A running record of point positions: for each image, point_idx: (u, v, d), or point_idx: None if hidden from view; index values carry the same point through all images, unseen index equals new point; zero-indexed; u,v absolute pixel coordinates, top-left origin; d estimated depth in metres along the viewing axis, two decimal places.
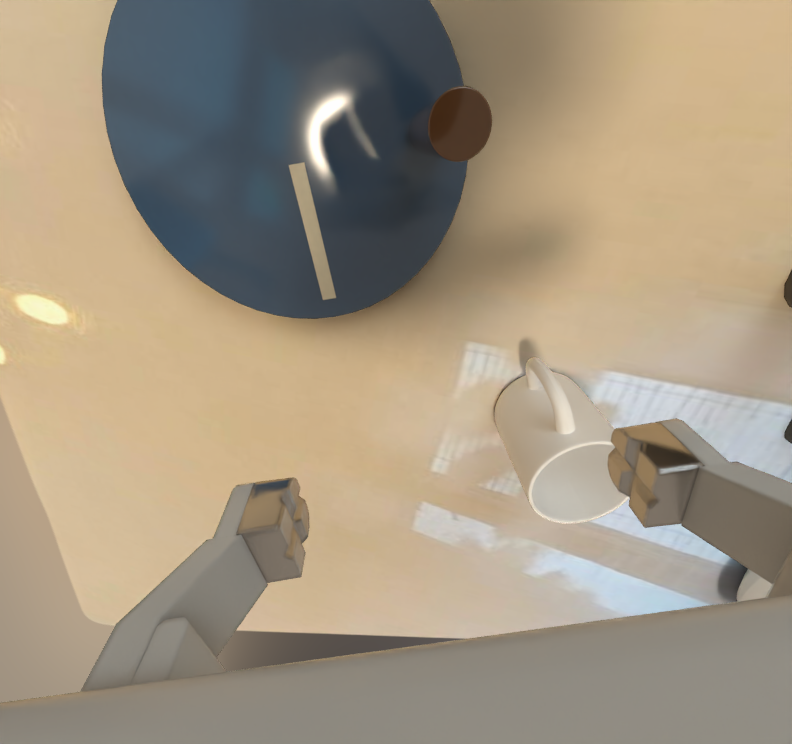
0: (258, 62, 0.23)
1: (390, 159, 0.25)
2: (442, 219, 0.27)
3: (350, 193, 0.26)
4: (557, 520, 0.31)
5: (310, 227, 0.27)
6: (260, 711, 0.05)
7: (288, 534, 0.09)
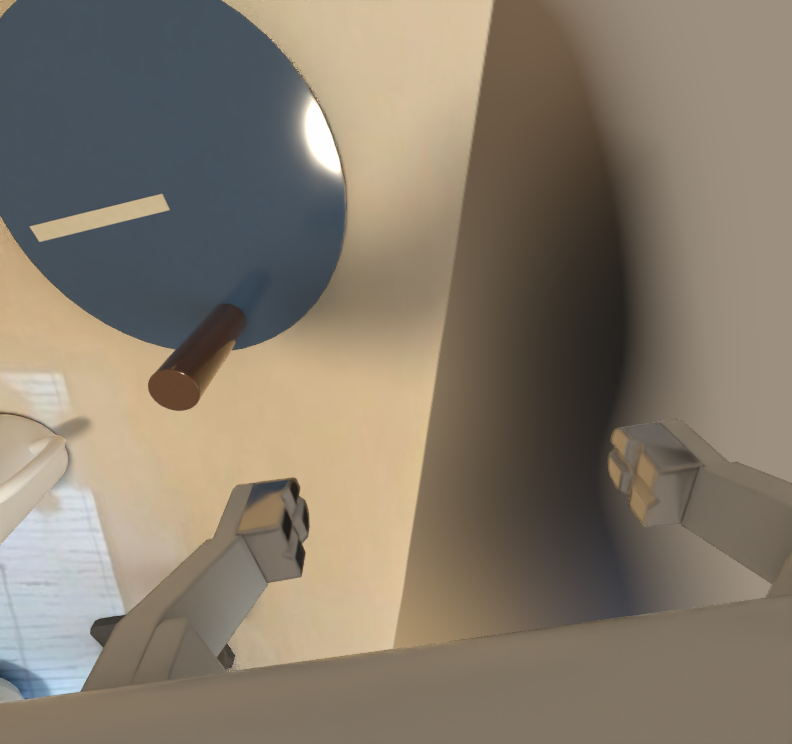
0: (239, 169, 0.25)
1: (198, 290, 0.29)
2: (164, 339, 0.30)
3: (157, 255, 0.27)
4: None
5: (108, 214, 0.26)
6: (260, 711, 0.05)
7: (288, 534, 0.09)
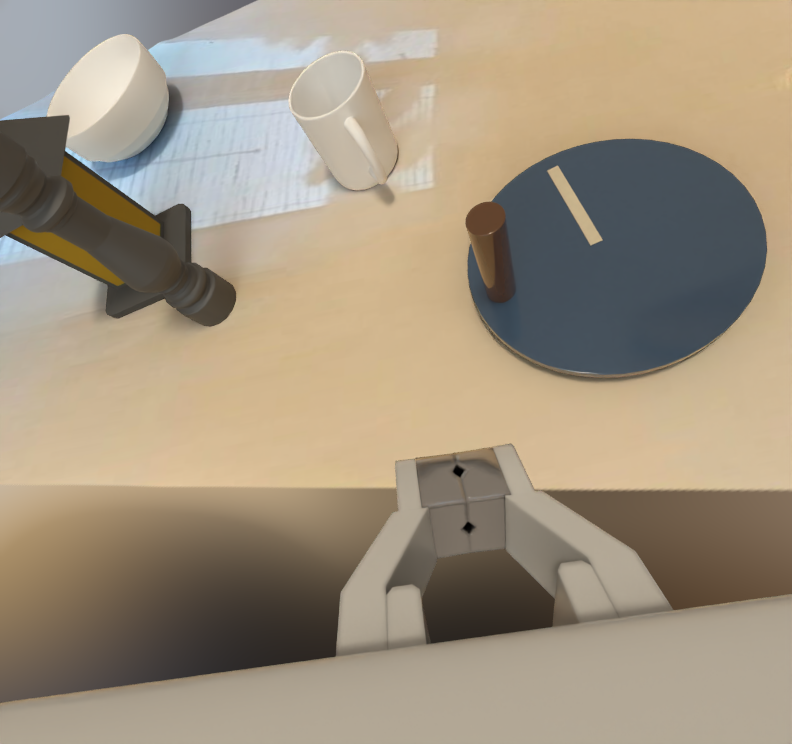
0: (636, 290, 0.31)
1: (524, 266, 0.35)
2: None
3: (550, 239, 0.35)
4: (333, 53, 0.40)
5: (577, 208, 0.35)
6: (260, 711, 0.05)
7: None
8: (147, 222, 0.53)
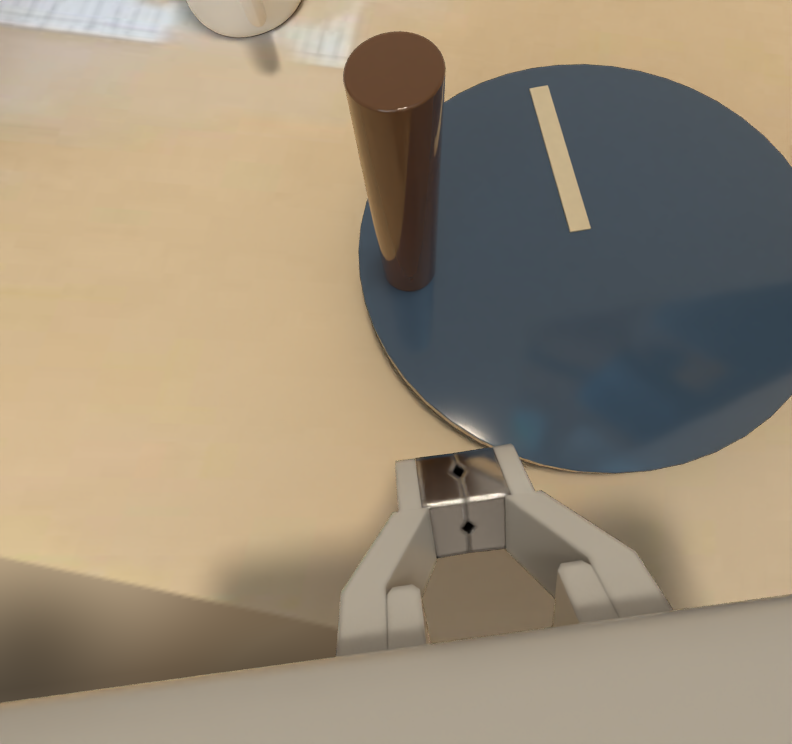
0: (625, 328, 0.18)
1: (457, 238, 0.20)
2: None
3: (509, 203, 0.20)
4: None
5: (563, 164, 0.20)
6: (260, 711, 0.05)
7: None
8: None
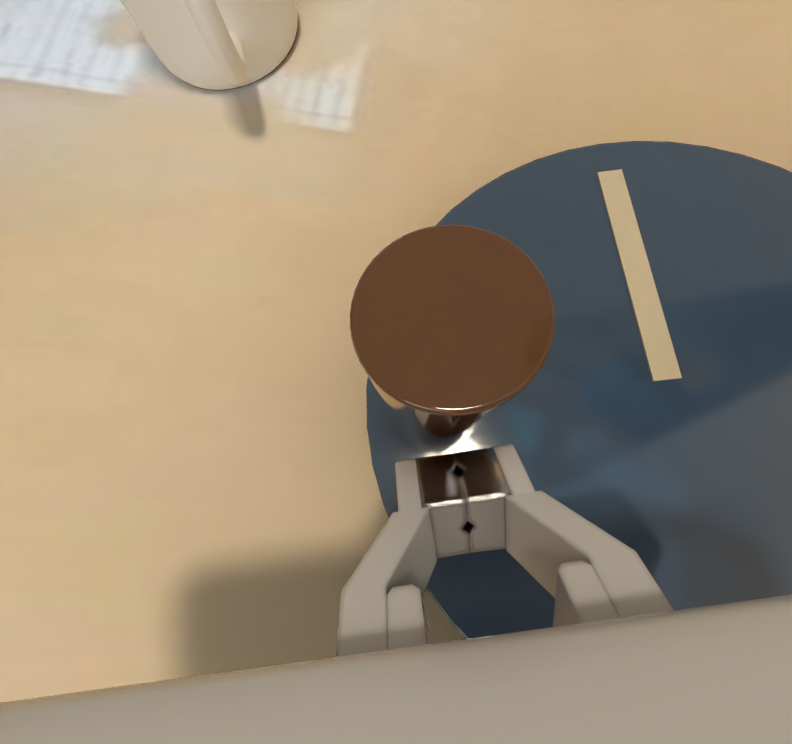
0: (731, 531, 0.13)
1: None
2: None
3: (569, 332, 0.15)
4: None
5: (643, 282, 0.15)
6: (260, 711, 0.05)
7: None
8: None
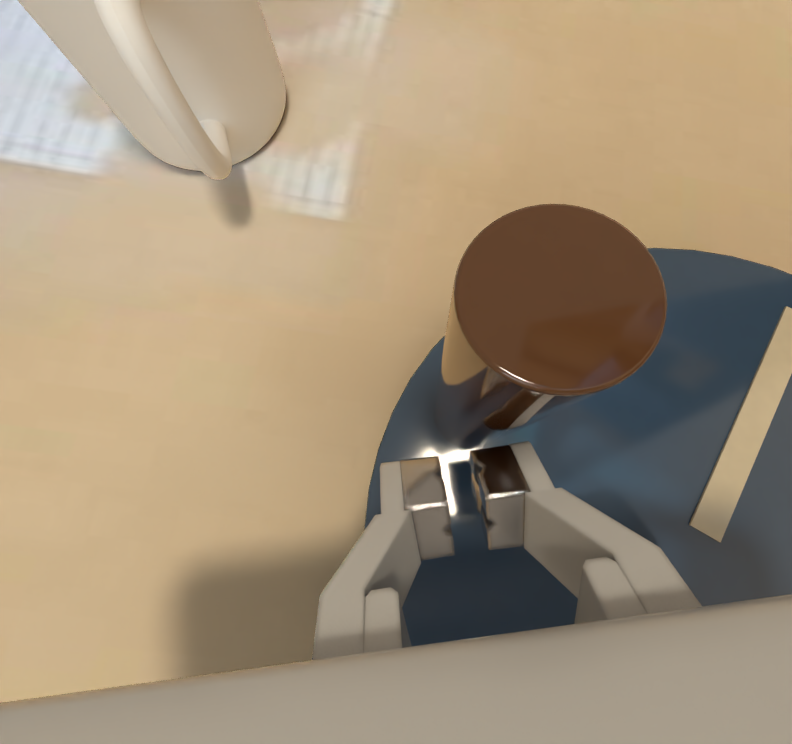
0: None
1: (547, 422, 0.14)
2: None
3: (643, 428, 0.14)
4: None
5: (751, 434, 0.14)
6: (260, 711, 0.05)
7: None
8: None
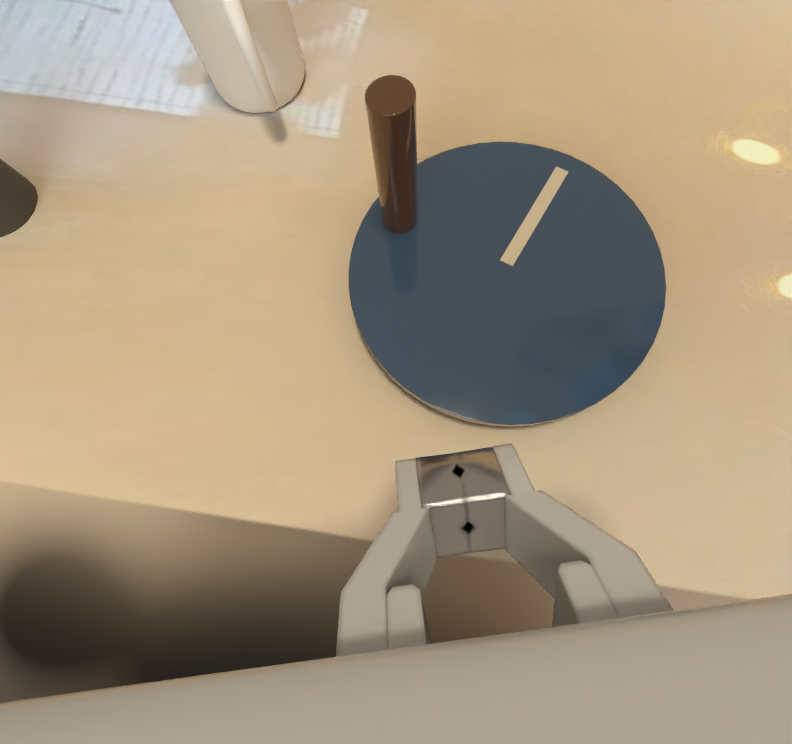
0: (479, 328, 0.27)
1: (438, 221, 0.29)
2: (431, 164, 0.31)
3: (483, 222, 0.29)
4: None
5: (532, 221, 0.29)
6: (260, 711, 0.05)
7: None
8: None
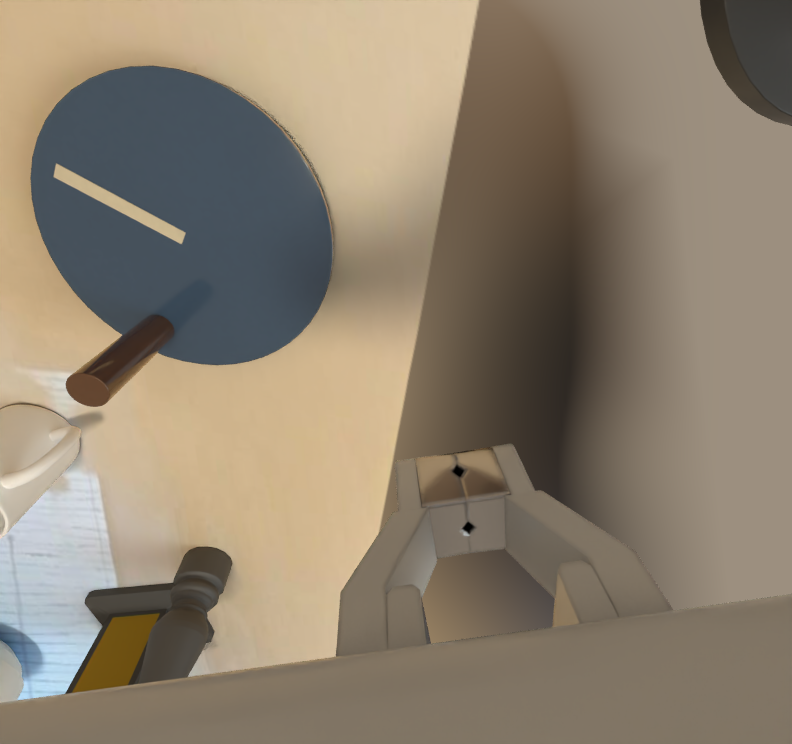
0: (252, 265, 0.32)
1: (153, 297, 0.33)
2: (92, 302, 0.33)
3: (143, 257, 0.31)
4: None
5: (131, 209, 0.30)
6: (260, 711, 0.05)
7: None
8: (114, 631, 0.53)
